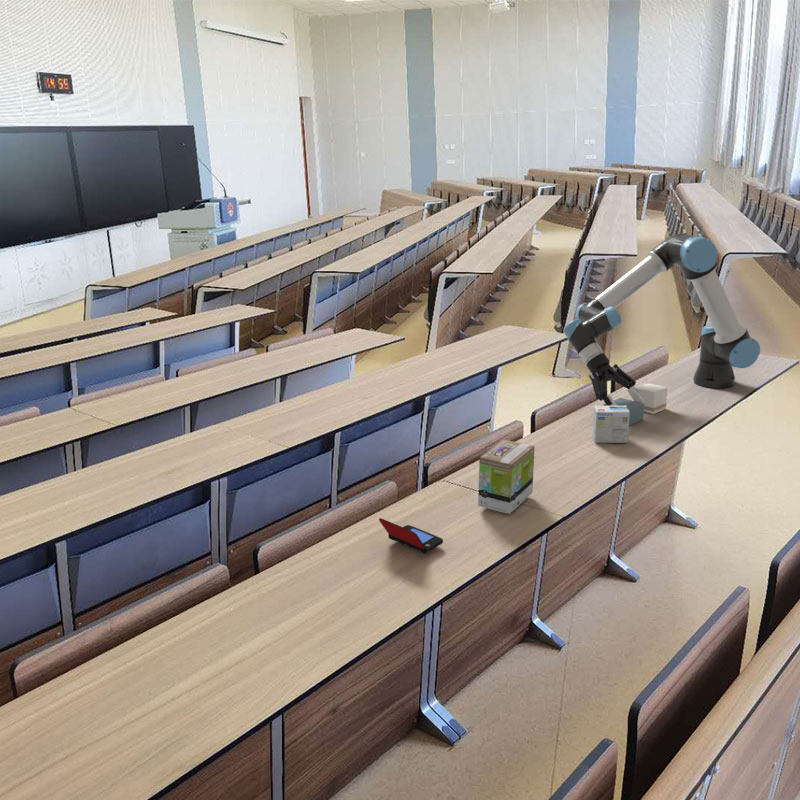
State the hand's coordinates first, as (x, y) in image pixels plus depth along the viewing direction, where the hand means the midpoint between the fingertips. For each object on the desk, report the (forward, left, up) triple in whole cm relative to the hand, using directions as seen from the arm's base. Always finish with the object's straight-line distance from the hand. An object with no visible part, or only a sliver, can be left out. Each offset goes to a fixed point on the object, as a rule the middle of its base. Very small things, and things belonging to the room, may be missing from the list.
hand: (629, 408), depth 267 cm
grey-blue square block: (+1, -2, -5) cm, 5 cm away
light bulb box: (+13, +14, -5) cm, 20 cm away
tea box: (+59, +49, -5) cm, 77 cm away
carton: (-13, -10, -5) cm, 17 cm away
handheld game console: (+89, +67, -5) cm, 111 cm away
